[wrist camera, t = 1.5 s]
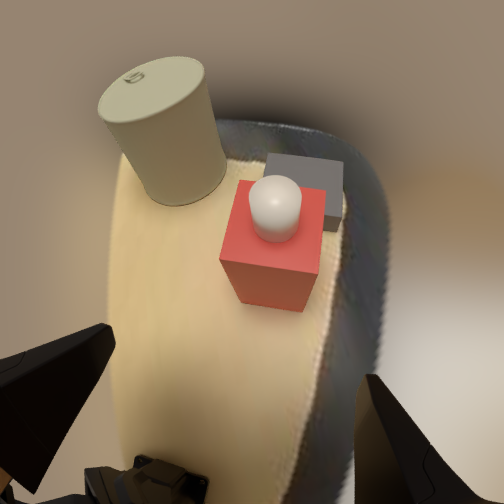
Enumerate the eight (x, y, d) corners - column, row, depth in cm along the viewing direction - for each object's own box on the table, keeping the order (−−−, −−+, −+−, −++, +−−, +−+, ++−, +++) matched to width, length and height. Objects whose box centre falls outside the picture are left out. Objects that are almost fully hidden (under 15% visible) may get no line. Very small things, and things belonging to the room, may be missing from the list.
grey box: (335, 233, 26) (342, 217, 23) (259, 223, 27) (257, 206, 24) (338, 181, 28) (342, 161, 25) (269, 172, 29) (268, 152, 26)
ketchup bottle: (302, 312, 23) (325, 254, 12) (240, 302, 23) (208, 237, 12) (310, 255, 25) (332, 162, 14) (252, 246, 25) (234, 151, 14)
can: (188, 129, 32) (161, 46, 21) (245, 162, 29) (229, 63, 18) (129, 179, 30) (79, 101, 19) (179, 223, 27) (126, 133, 16)
